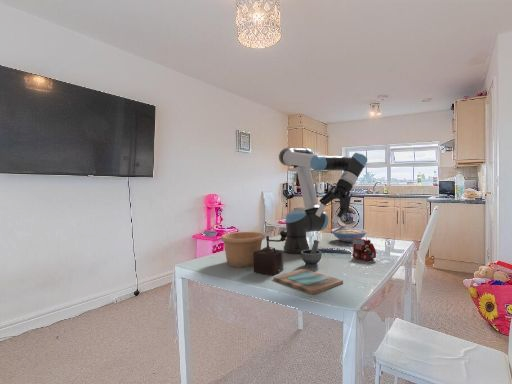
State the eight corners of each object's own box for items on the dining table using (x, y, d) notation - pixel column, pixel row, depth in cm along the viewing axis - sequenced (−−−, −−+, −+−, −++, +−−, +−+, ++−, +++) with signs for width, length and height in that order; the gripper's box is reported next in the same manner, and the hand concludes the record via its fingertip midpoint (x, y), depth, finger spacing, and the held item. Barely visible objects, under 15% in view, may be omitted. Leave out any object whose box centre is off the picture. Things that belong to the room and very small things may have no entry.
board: (273, 279, 127) (273, 276, 127) (302, 271, 138) (302, 268, 138) (313, 294, 110) (313, 290, 110) (343, 283, 121) (343, 279, 121)
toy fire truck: (372, 262, 150) (371, 241, 149) (349, 258, 159) (349, 238, 159) (378, 259, 154) (378, 239, 154) (356, 255, 164) (356, 236, 163)
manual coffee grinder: (273, 276, 132) (272, 235, 131) (252, 272, 138) (252, 233, 137) (290, 267, 144) (289, 230, 144) (270, 264, 151) (269, 228, 150)
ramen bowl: (361, 246, 184) (361, 233, 184) (326, 243, 197) (325, 230, 196) (371, 239, 205) (371, 227, 205) (338, 236, 217) (337, 225, 217)
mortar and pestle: (314, 270, 139) (313, 244, 139) (297, 266, 146) (297, 241, 145) (326, 264, 147) (326, 240, 147) (310, 261, 154) (309, 238, 153)
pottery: (217, 260, 161) (216, 233, 160) (256, 255, 168) (255, 230, 168) (227, 271, 140) (226, 241, 140) (271, 265, 148) (270, 237, 147)
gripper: (326, 175, 159) (306, 209, 158) (359, 181, 136) (336, 222, 135) (335, 182, 162) (316, 216, 161) (369, 189, 139) (347, 229, 138)
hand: (325, 219), depth 148 cm, fingers open, 13 cm apart
